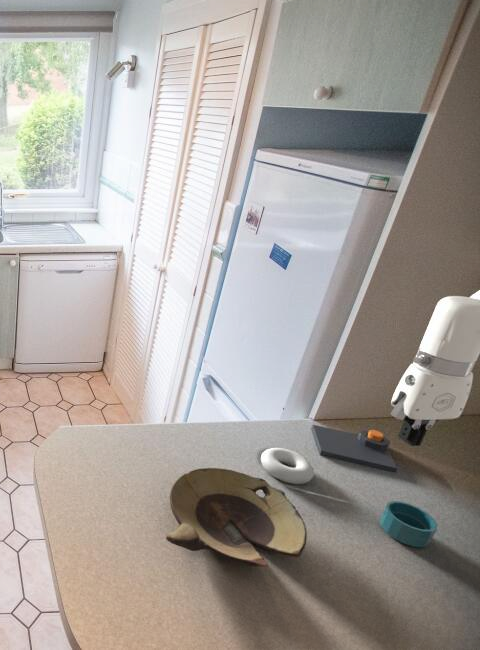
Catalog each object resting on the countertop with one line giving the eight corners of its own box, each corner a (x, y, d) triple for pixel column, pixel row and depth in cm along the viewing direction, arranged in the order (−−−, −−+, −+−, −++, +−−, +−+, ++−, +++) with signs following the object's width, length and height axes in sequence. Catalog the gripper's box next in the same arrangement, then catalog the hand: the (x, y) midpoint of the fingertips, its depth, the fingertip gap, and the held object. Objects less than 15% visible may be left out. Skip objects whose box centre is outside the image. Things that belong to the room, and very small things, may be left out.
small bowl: (420, 525, 88) (428, 508, 86) (434, 554, 82) (444, 537, 81) (373, 513, 91) (381, 496, 89) (385, 540, 85) (393, 523, 84)
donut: (275, 451, 109) (249, 464, 105) (279, 439, 108) (253, 452, 103) (321, 478, 101) (295, 493, 96) (325, 465, 99) (299, 480, 95)
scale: (381, 443, 110) (385, 433, 109) (397, 473, 101) (401, 463, 100) (310, 428, 116) (314, 418, 115) (319, 455, 107) (323, 445, 106)
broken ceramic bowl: (335, 570, 80) (348, 539, 77) (175, 592, 77) (182, 561, 74) (247, 479, 100) (255, 451, 98) (119, 493, 97) (122, 465, 94)
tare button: (379, 436, 109) (381, 431, 108) (382, 443, 107) (385, 437, 106) (365, 433, 110) (367, 428, 109) (368, 440, 108) (370, 434, 107)
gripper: (422, 373, 81) (387, 454, 88) (505, 371, 81) (464, 453, 88) (386, 353, 88) (356, 430, 95) (462, 351, 88) (427, 429, 95)
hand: (408, 441), depth 91 cm, fingers closed
